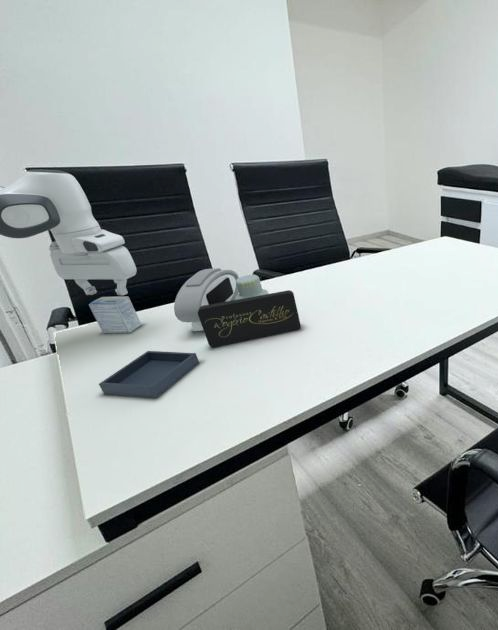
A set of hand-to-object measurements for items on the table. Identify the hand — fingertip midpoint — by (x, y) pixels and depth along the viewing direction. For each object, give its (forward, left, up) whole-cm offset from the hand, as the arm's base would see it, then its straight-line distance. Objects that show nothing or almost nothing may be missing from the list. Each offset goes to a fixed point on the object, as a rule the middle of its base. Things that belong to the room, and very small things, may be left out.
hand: (107, 294), depth 98 cm
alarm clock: (+22, +9, -10) cm, 26 cm away
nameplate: (+40, -1, -10) cm, 41 cm away
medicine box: (0, 0, -10) cm, 10 cm away
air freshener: (+32, +12, -10) cm, 35 cm away
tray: (+27, -19, -10) cm, 34 cm away
